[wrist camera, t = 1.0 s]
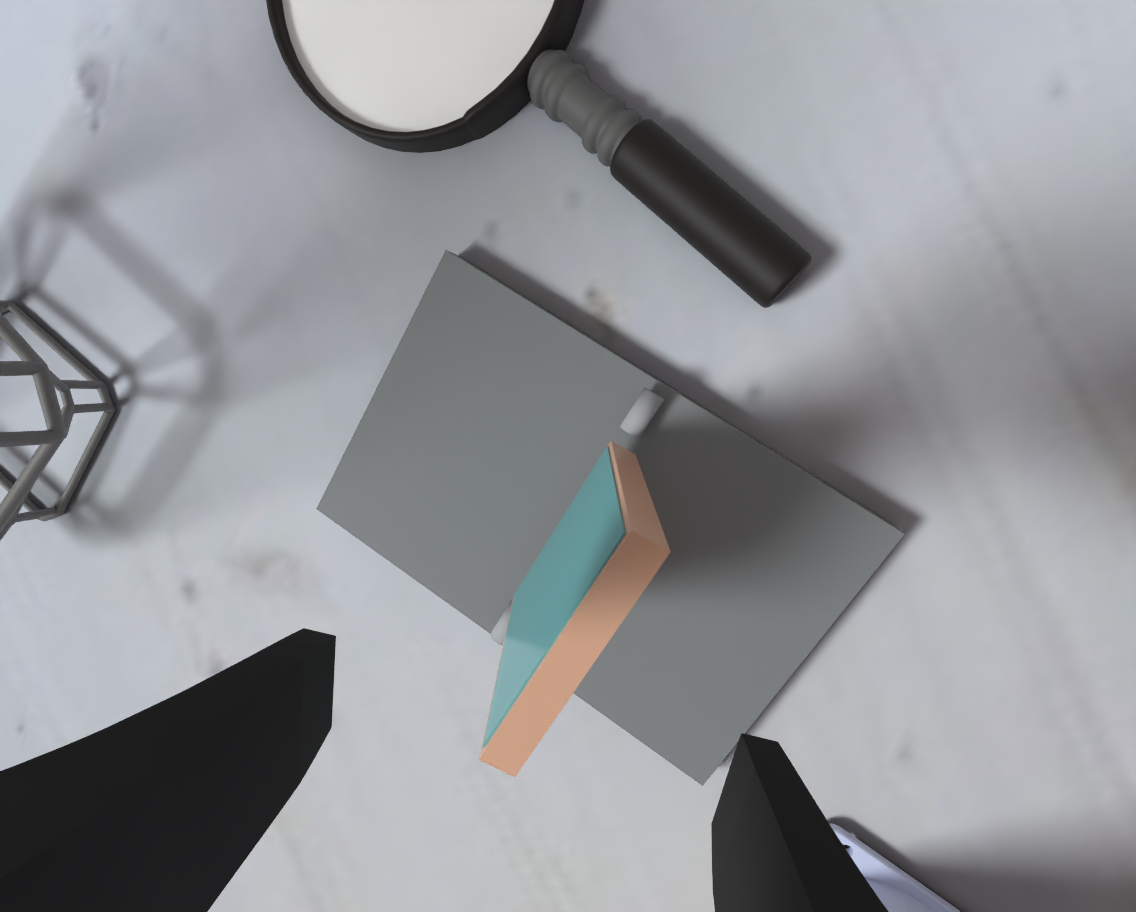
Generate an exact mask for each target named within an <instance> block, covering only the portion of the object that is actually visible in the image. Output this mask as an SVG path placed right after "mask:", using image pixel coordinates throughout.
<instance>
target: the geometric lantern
mask: <svg viewBox="0 0 1136 912" xmlns="http://www.w3.org/2000/svg"><path fill="white" fill-rule="evenodd" d="M8 310H10V311H11V312H12V313H13V314H14V315H15V316H16V317H18V318H19V319H20V320H21V321H22V322H23V323H24V324H25V325H27V326H28V327H29V328H30V329H31V330H32V331H33V332H34V333H36V334H37V335H38V336H39V337H40V338H41V339H42V340H43V341H44V342H46V343H47V344H48V345H49V346H50V347H51V348H52V349H53V350H55V351H56V352H57V353H58V354H59V355H60V356H61V357H62V358H63V359H65V360H66V361H67V362H68V363H69V364H70V365H71V366H72V367H74V368H75V369H76V370H77V371H78V372H79V373H80V374H81V375H82V376H84V377H85V378H86V379H87V380H88V381H77V380H60V379H59V378H58V377H57V376H55V375H54V374H53V373H52V372H51V371H50V370H49V368H48V366H47V364H46V363H45V362H44V361H43V360H42V359H41V357H40V356H39V355H38V354H37V353H36V352H35V351H34V350H33V348H32V347H31V346H30V345H29V344H28V343H27V342H26V341H25V340H24V338H23V337H22V336H21V335H20V334H19V333H18V332H17V331H16V330H15V328H14V327H13V326H12V325H11V324H10V323H9V322H8V321H7V320H6V318H5V317H4V316H3V315H2V313H4V312H6V311H8ZM0 337H1V338H2V339H3V340H4V341H5V342H6V343H7V344H8V345H9V346H10V347H11V348H12V350H13V351H14V352H15V353H16V354H17V355H18V356H19V357H20V359H21V360H22V361H0V376H19V375H32V376H33V379H34V382H35V386H36V389H37V393H38V396H39V400H40V403H41V407H42V411H43V414H44V418H45V421H46V425H47V430H45V431H23V432H0V447H8V446H25V445H40V446H39V447H38V449H37V450H36V452H35V453H34V455H33V456H32V458H31V459H30V461H29V462H28V464H27V465H26V467H25V468H24V470H23V471H22V473H21V474H20V476H19V477H18V479H17V480H16V482H15V483H14V485H13V484H12V483H11V482H10V481H9V480H8V479H6V478H5V477H4V476H3V475H2V474H1V473H0V485H1V486H3V487H4V488H5V489H6V490H7V491H8V494H7V495H6V497H5V498H4V500H3V501H2V503H1V504H0V540H1V539H2V538H3V536H4V535H5V534H6V532H7V531H8V530H9V528H10V527H11V526H12V525H13V524H14V523H15V522H20V521H25V520H33V519H38V520H41V521H47V520H50V519H52V518H55V517H57V516H60V515H62V514H64V512H65V508H66V506H67V504H68V502H69V501H70V499H71V497H72V495H73V493H74V491H75V489H76V487H77V485H78V483H79V481H80V479H81V477H82V475H83V473H84V471H85V469H86V467H87V465H88V463H89V461H90V459H91V457H92V455H93V453H94V451H95V449H96V447H97V445H98V443H99V441H100V439H101V437H102V435H103V433H104V431H105V430H106V428H107V426H108V424H109V422H110V420H111V418H112V416H113V412H115V407H114V405H113V402H112V400H111V397H110V395H109V393H108V390H107V388H106V385H105V383H104V382H103V381H101V380H100V379H98V378H97V377H96V376H95V375H94V374H93V373H92V372H91V371H89V370H88V369H87V368H86V367H85V366H84V365H83V364H82V363H80V362H79V361H78V360H77V359H76V358H75V357H74V356H73V355H71V354H70V353H69V352H68V351H67V350H66V349H65V348H64V347H63V346H61V345H60V344H59V343H58V342H57V341H56V340H55V339H54V338H52V337H51V336H50V335H49V334H48V333H47V332H46V331H45V330H43V329H42V328H41V327H40V326H39V325H38V324H37V323H36V322H34V321H33V320H32V319H31V318H30V317H29V316H28V315H27V314H25V313H24V312H23V311H22V310H21V309H20V308H19V307H18V306H17V305H15V304H14V303H13V302H11V301H0ZM54 387H55V388H56V389H57V390H58V391H60V394H61V398H62V401H63V405H64V407H63V408H62V410H60V406H59V403H58V399H57V395H56V392H55V388H54ZM70 388H73V389H97V390H98V392H99V395H100V397H101V400H102V402H103V403H98V404H80V405H74V402H73V399H72V395H71V392H70ZM98 411H104V413H103V415H102V417H101V419H100V421H99V423H98V425H97V427H96V429H95V431H94V433H93V435H92V437H91V439H90V441H89V443H88V445H87V447H86V449H85V451H84V453H83V455H82V457H81V459H80V461H79V463H78V465H77V467H76V469H75V471H74V473H73V475H72V477H71V479H70V481H69V483H68V485H67V487H66V489H65V491H64V493H63V495H62V497H61V499H60V501H59V503H58V505H57V507H56V509H55V508H53V507H51V508H46V509H39V508H38V507H36V506H35V505H34V504H33V503H32V502H31V501H30V500H29V499H28V498H27V496H28V494H29V492H30V490H31V488H32V487H33V485H34V483H35V481H36V480H37V478H38V477H39V475H40V474H41V472H42V471H43V469H44V468H45V466H46V465H47V464H48V462H49V461H50V459H51V458H52V456H53V455H54V453H55V452H56V450H57V449H58V447H59V446H60V444H61V443H62V441H63V440H64V439H65V438H66V437H67V434H68V431H69V427H70V424H71V421H72V417H73V414H74V413H83V412H98ZM22 505H23V506H24V507H25V508H26V509H27V510H28V511H29V512H25V513H20V514H18V513H19V511H20V509H21V507H22Z"/></svg>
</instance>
